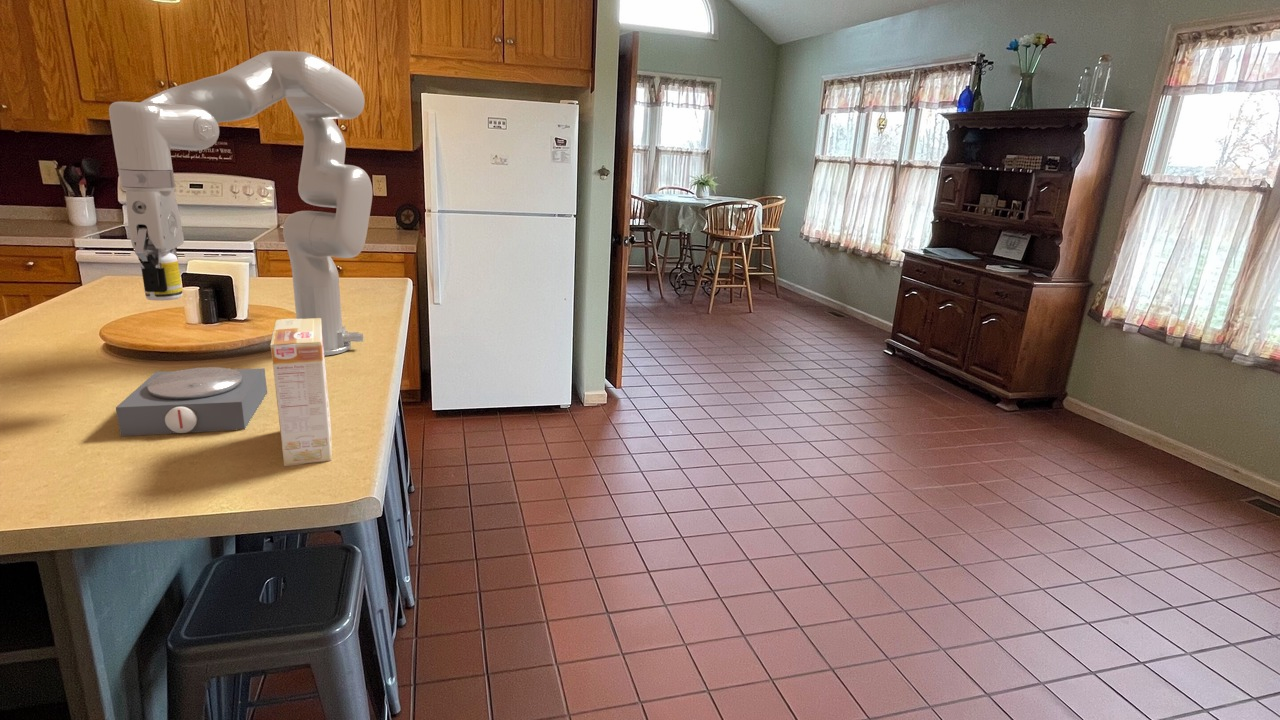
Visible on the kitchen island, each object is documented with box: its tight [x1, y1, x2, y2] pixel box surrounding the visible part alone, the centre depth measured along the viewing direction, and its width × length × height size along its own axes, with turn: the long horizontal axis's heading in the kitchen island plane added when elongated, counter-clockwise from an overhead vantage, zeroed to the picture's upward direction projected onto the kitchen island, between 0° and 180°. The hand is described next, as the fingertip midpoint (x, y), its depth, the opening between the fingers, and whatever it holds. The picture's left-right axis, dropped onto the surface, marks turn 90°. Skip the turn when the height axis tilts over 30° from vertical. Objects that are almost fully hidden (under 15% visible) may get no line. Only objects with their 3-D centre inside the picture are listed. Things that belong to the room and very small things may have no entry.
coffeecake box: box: [269, 318, 333, 467], centre depth 111 cm, size 15×7×20 cm, turn 23°
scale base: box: [115, 368, 268, 437], centre depth 123 cm, size 18×19×5 cm
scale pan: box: [147, 366, 242, 399], centre depth 122 cm, size 14×14×1 cm
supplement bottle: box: [140, 246, 183, 302], centre depth 121 cm, size 5×5×10 cm
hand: (163, 286), depth 122 cm, fingers closed on supplement bottle, 5 cm apart
